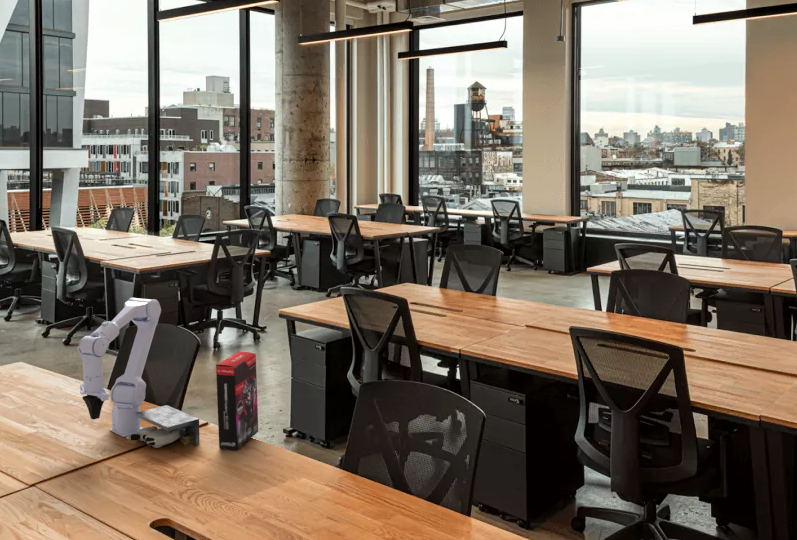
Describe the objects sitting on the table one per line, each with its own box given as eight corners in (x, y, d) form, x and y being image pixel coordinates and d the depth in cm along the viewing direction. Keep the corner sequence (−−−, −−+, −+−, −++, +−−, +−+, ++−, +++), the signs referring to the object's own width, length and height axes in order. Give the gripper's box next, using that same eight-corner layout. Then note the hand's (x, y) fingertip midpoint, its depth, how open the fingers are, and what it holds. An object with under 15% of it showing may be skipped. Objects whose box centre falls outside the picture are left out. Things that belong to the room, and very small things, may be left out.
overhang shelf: (136, 437, 240) (135, 412, 239) (167, 429, 248) (166, 405, 247) (168, 453, 227) (167, 427, 226) (199, 443, 235) (199, 418, 234)
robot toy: (123, 447, 234) (157, 453, 227) (122, 432, 234) (156, 438, 227) (154, 435, 245) (187, 440, 238) (153, 421, 245) (186, 426, 237)
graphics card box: (237, 452, 229) (236, 365, 226) (216, 450, 231) (215, 363, 227) (258, 432, 246) (258, 352, 242) (238, 431, 247) (238, 350, 244)
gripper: (69, 373, 229) (71, 415, 231) (91, 382, 220) (93, 427, 222) (92, 368, 235) (93, 410, 236) (114, 378, 225) (116, 421, 227)
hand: (95, 418), depth 229 cm, fingers closed
